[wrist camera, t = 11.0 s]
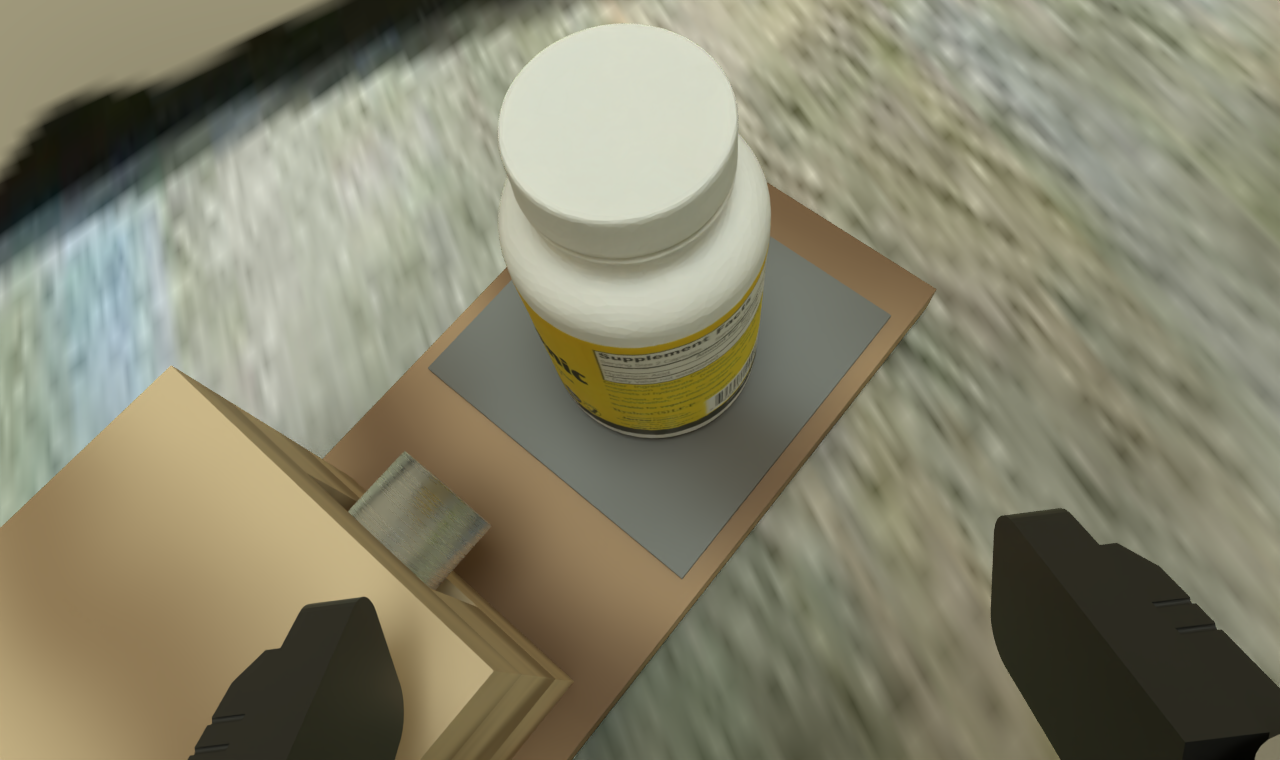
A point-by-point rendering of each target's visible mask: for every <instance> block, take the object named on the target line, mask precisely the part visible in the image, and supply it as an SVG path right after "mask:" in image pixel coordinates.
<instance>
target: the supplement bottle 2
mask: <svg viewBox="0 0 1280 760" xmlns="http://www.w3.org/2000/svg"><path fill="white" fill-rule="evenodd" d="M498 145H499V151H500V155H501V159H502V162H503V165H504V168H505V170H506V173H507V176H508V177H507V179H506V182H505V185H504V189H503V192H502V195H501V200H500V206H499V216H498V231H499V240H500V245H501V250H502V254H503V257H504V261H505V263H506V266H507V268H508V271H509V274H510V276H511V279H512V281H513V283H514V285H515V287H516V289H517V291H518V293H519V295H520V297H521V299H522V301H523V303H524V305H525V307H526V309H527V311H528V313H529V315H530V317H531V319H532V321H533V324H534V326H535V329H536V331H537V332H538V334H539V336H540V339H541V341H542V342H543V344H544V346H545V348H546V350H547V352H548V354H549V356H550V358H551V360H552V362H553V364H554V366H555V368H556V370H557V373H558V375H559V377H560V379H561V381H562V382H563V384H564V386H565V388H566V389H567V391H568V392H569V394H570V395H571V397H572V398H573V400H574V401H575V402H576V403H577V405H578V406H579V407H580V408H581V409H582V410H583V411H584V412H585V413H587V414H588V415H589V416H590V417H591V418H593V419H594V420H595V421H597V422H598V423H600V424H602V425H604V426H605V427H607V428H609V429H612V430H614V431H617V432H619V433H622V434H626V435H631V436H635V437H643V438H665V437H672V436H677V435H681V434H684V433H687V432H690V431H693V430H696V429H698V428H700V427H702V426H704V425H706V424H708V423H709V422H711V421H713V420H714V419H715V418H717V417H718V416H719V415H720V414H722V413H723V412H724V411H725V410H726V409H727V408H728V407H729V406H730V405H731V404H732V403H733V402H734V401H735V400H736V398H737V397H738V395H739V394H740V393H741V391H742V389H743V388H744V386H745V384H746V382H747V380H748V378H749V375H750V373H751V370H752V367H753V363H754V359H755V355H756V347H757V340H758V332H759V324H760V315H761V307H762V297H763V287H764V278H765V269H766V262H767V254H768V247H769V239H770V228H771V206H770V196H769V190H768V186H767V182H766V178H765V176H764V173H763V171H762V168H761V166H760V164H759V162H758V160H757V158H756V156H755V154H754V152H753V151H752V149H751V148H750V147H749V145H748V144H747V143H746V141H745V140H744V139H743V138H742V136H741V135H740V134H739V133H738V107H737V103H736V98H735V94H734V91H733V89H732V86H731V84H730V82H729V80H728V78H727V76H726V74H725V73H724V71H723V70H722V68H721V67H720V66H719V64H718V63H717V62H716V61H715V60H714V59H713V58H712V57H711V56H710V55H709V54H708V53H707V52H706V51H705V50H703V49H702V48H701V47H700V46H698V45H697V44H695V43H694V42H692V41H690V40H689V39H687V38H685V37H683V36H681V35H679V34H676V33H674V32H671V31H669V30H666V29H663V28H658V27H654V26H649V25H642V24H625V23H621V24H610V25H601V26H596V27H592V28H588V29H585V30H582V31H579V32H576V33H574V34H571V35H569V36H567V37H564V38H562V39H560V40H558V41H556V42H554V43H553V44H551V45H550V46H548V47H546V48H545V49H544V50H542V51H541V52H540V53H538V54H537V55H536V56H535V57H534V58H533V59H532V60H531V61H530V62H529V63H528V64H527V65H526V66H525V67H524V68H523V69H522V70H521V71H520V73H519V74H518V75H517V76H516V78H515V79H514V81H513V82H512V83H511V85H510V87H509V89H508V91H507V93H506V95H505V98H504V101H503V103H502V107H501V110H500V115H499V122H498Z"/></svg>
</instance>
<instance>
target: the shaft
mask: <svg viewBox="0 0 1280 760" xmlns="http://www.w3.org/2000/svg"><path fill="white" fill-rule="evenodd" d="M348 512H349V513H350V514H351V515H352V516H353V517H354V518H355V519H356V520H357V521H358V522H359V523H360V524H361V525H363V526H364V527H365V528H366V529H367V530H368V531H369V532H370V533H371V534H372V535H373V536H374V537H375V538H376V539H378V540H379V541H380V542H381V543H382V544H383V545H384V546H385V547H386V548H387V549H388V550H389V551H390V552H391V553H392V554H394V555H395V556H396V557H397V558H398V559H399V560H400V561H401V562H402V563H403V564H404V565H405V566H406V567H407V568H409V569H410V570H411V571H412V572H413V573H414V574H415V575H416V576H417V577H418V578H419V579H420V580H421V581H422V582H423V583H425V584H426V585H427V586H428V587H429V588H431V589H433V590H436V589H437V588H438V587H439V585H440V584H441V583H442V582H443V581H444V580H445V579H446V577H447V576H448V575H449V574H450V573H451V572H452V571H453V569H454V568H455V567H456V566H457V565H458V564H459V563H460V562H461V560H462V559H463V558H464V557H465V556H466V555H467V554H468V552H469V551H470V550H471V549H472V548H473V547H474V546H475V544H476V543H477V542H478V541H479V540H480V539H481V538H482V536H483V535H484V534H485V533H486V532H487V531H488V530H489V528H490V527H491V525H490V524H489V523H488V522H487V521H486V520H485V519H483V518H482V517H481V516H480V515H479V514H478V513H477V512H476V511H475V510H473V509H472V508H471V507H470V506H469V505H468V504H467V503H465V502H464V501H463V500H462V499H461V498H460V497H459V496H457V495H456V494H455V493H454V492H453V491H452V490H451V489H449V488H448V487H447V486H446V485H445V484H444V483H443V482H441V481H440V480H439V479H438V478H437V477H436V476H434V475H433V474H432V473H431V472H430V471H429V470H427V469H426V468H425V467H424V466H423V465H422V464H420V463H419V462H418V461H417V460H416V459H414V458H413V457H412V456H411V455H410V454H408V453H407V452H406V451H404V452H403V453H402V454H401V455H400V456H399V457H398V458H397V459H396V460H395V461H394V462H393V463H392V465H391V466H390V467H389V468H388V469H387V470H386V471H385V472H384V473H383V474H382V475H381V476H380V477H379V478H378V479H377V481H376V482H375V483H374V484H373V485H372V486H371V487H370V488H369V489H368V490H367V491H366V492H365V493H364V494H363V496H362V497H361V498H360V499H359V500H358V501H357V502H356V503H355V504H354V505H353V506H352V507H351V508H350V509H349V511H348Z"/></svg>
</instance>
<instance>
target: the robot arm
mask: <svg viewBox="0 0 1280 760" xmlns="http://www.w3.org/2000/svg"><path fill="white" fill-rule="evenodd" d="M991 624H992V630H993V635H994V639H995V643H996V646H997V649H998V652H999V655H1000V657H1001V659H1002V661H1003V663H1004V665H1005V667H1006V669H1007V670H1008V672H1009V674H1010V676H1011V677H1012V679H1013V681H1014V682H1015V684H1016V686H1017V687H1018V689H1019V691H1020V692H1021V694H1022V696H1023V697H1024V699H1025V701H1026V702H1027V704H1028V706H1029V707H1030V709H1031V711H1032V712H1033V714H1034V716H1035V717H1036V719H1037V721H1038V722H1039V724H1040V726H1041V727H1042V729H1043V731H1044V732H1045V734H1046V736H1047V737H1048V739H1049V741H1050V742H1051V744H1052V746H1053V747H1054V749H1055V751H1056V753H1057V754H1058V756H1059V758H1060V759H1061V760H1280V688H1279V687H1278V686H1277V685H1276V684H1275V683H1274V682H1273V681H1272V680H1271V679H1270V678H1269V677H1268V676H1267V675H1266V674H1265V673H1264V672H1263V671H1262V670H1261V669H1260V668H1259V667H1258V666H1257V665H1256V664H1255V663H1254V662H1253V661H1252V660H1251V659H1250V658H1249V657H1248V656H1247V655H1246V654H1245V653H1244V652H1243V651H1242V650H1241V649H1240V648H1239V647H1238V646H1237V645H1236V644H1235V643H1234V642H1233V641H1232V640H1231V639H1230V638H1229V637H1228V635H1227V634H1226V633H1225V632H1224V631H1223V630H1217V628H1216V626H1215V622H1214V621H1213V620H1212V619H1211V618H1210V617H1209V616H1208V615H1207V614H1206V613H1205V612H1204V611H1203V610H1202V609H1201V608H1200V607H1199V606H1198V605H1197V604H1192V603H1191V601H1190V597H1189V596H1188V595H1187V594H1186V593H1185V592H1184V591H1183V590H1182V589H1181V588H1180V587H1179V586H1178V585H1177V584H1176V583H1175V582H1174V581H1173V580H1172V579H1171V578H1170V577H1169V576H1168V575H1167V574H1166V573H1165V572H1164V571H1163V570H1162V569H1161V568H1160V567H1159V566H1158V565H1156V564H1154V563H1152V562H1150V561H1148V560H1147V559H1145V558H1143V557H1141V556H1139V555H1138V554H1136V553H1134V552H1132V551H1130V550H1129V549H1127V548H1125V547H1123V546H1121V545H1120V544H1118V543H1113V544H1105V545H1099V544H1098V543H1097V542H1096V541H1095V540H1094V539H1093V537H1092V536H1091V535H1090V534H1089V533H1088V532H1087V531H1086V530H1085V529H1084V528H1083V527H1082V525H1081V524H1080V523H1079V522H1078V521H1077V520H1076V519H1075V518H1074V517H1073V516H1072V515H1071V514H1070V513H1069V512H1068V511H1067V510H1065V509H1062V508H1059V509H1051V510H1043V511H1035V512H1028V513H1020V514H1012V515H1004V516H1000V517H999V518H998V519H997V521H996V524H995V529H994V546H993V570H992V594H991ZM403 723H404V702H403V694H402V689H401V685H400V682H399V679H398V676H397V673H396V670H395V667H394V664H393V661H392V658H391V655H390V652H389V649H388V646H387V643H386V640H385V637H384V634H383V630H382V627H381V624H380V621H379V618H378V615H377V612H376V610H375V607H374V605H373V603H372V602H371V601H370V599H368V598H367V597H358V598H350V599H342V600H335V601H327V602H319V603H312V604H307V605H305V606H304V607H303V608H302V609H301V611H300V612H299V614H298V616H297V618H296V619H295V621H294V623H293V625H292V627H291V629H290V631H289V633H288V635H287V636H286V638H285V640H284V642H283V644H282V646H281V648H278V649H270V650H265V651H264V652H263V653H262V654H261V655H260V656H259V657H258V658H257V659H256V660H255V661H254V662H253V663H252V664H251V665H249V666H248V667H247V668H246V669H245V670H244V671H243V672H242V673H241V674H240V675H239V676H238V677H237V678H236V679H235V680H234V681H233V682H232V683H231V685H230V687H229V688H228V690H227V692H226V694H225V695H224V697H223V699H222V701H221V702H220V704H219V706H218V708H217V709H216V711H215V713H214V714H213V716H212V724H211V725H207V727H206V728H205V730H204V732H203V734H202V735H201V737H200V739H199V741H198V742H197V744H196V746H195V747H194V748H195V753H194V755H190V756H189V758H188V760H395V757H396V754H397V750H398V747H399V744H400V740H401V736H402V731H403Z"/></svg>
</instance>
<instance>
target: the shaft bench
mask: <svg viewBox="0 0 1280 760" xmlns="http://www.w3.org/2000/svg"><path fill="white" fill-rule="evenodd" d="M767 186H768V190H769V196H770V206H771V228H770V239H769V247H768V254H767V262H766V269H765V278H764V287H763V297H762V307H761V315H760V324H759V332H758V340H757V347H756V355H755V359H754V363H753V367H752V370H751V373H750V375H749V378H748V380H747V382H746V384H745V386H744V388H743V389H742V391H741V393H740V394H739V395H738V397H737V398H736V400H735V401H734V402H733V403H732V404H731V405H730V406H729V407H728V408H727V409H726V410H725V411H724V412H723V413H722V414H720V415H719V416H718V417H717V418H715V419H714V420H713V421H711V422H709V423H708V424H706V425H704V426H702V427H700V428H698V429H696V430H693V431H690V432H687V433H684V434H681V435H677V436H672V437H665V438H643V437H635V436H631V435H626V434H622V433H619V432H617V431H614V430H612V429H609V428H607V427H605V426H604V425H602V424H600V423H598V422H597V421H595V420H594V419H593V418H591V417H590V416H589V415H588V414H587V413H585V412H584V411H583V410H582V409H581V408H580V407H579V406H578V405H577V403H576V402H575V401H574V400H573V398H572V397H571V395H570V394H569V392H568V391H567V389H566V388H565V386H564V384H563V382H562V381H561V379H560V377H559V375H558V373H557V370H556V368H555V366H554V364H553V362H552V360H551V358H550V356H549V354H548V352H547V350H546V348H545V346H544V344H543V342H542V341H541V339H540V336H539V334H538V332H537V331H536V329H535V326H534V324H533V321H532V319H531V317H530V315H529V313H528V311H527V309H526V307H525V305H524V303H523V301H522V299H521V297H520V295H519V293H518V291H517V289H516V287H515V285H514V283H513V281H512V279H511V276H510V274H509V271H508V268H506V269H505V270H504V271H503V272H502V273H501V274H500V275H499V276H498V277H497V278H496V279H495V280H494V281H493V282H492V283H491V284H490V285H489V286H488V287H487V288H486V289H485V290H484V291H483V293H482V294H481V295H480V296H479V297H478V298H477V299H476V300H475V301H474V302H473V303H472V304H471V305H470V306H469V307H468V308H467V309H466V310H465V311H464V312H463V313H462V314H461V315H460V316H459V317H458V319H457V320H456V321H455V322H454V323H453V324H452V325H451V326H450V327H449V328H448V329H447V330H446V331H445V332H444V333H443V334H442V335H441V336H440V337H439V338H438V339H437V340H436V341H435V342H434V344H433V345H432V346H431V347H430V348H429V349H428V350H427V351H426V352H425V353H424V354H423V355H422V356H421V357H420V358H419V359H418V360H417V361H416V362H415V363H414V364H413V365H412V366H411V367H410V368H409V370H408V371H407V372H406V373H405V374H404V375H403V376H402V377H401V378H400V379H399V380H398V381H397V382H396V383H395V384H394V385H393V386H392V387H391V388H390V389H389V390H388V391H387V392H386V393H385V395H384V396H383V397H382V398H381V399H380V400H379V401H378V402H377V403H376V404H375V405H374V406H373V407H372V408H371V409H370V410H369V411H368V412H367V413H366V414H365V415H364V416H363V417H362V418H361V419H360V421H359V422H358V423H357V424H356V425H355V426H354V427H353V428H352V429H351V430H350V431H349V432H348V433H347V434H346V435H345V436H344V437H343V438H342V439H341V440H340V441H339V442H338V443H337V444H336V445H335V447H334V448H333V449H332V450H331V451H330V452H329V453H328V454H327V455H326V456H325V457H324V458H323V459H321V458H320V457H318V456H316V455H315V454H313V453H312V452H310V451H308V450H307V449H305V448H304V447H302V446H300V445H299V444H297V443H295V442H294V441H292V440H291V439H289V438H287V437H286V436H284V435H283V434H281V433H279V432H278V431H276V430H274V429H273V428H271V427H270V426H268V425H266V424H265V423H263V422H262V421H260V420H258V419H257V418H255V417H254V416H252V415H250V414H249V413H247V412H245V411H244V410H242V409H241V408H239V407H237V406H236V405H234V404H233V403H231V402H229V401H228V400H226V399H225V398H223V397H221V396H220V395H218V394H216V393H215V392H213V391H212V390H210V389H208V388H207V387H205V386H204V385H202V384H200V383H199V382H197V381H196V380H194V379H192V378H191V377H189V376H187V375H186V374H184V373H183V372H181V371H179V370H178V369H176V368H175V367H173V366H170V367H169V368H168V369H167V370H166V371H165V372H164V373H163V374H162V375H161V376H159V377H158V378H157V379H156V380H155V381H154V382H153V383H152V384H151V385H150V386H149V387H148V388H147V389H146V390H145V391H144V392H143V393H142V394H141V395H140V396H138V397H137V398H136V399H135V400H134V401H133V402H132V403H131V404H130V405H129V406H128V407H127V408H126V409H125V410H124V411H123V412H122V413H121V414H120V415H118V416H117V417H116V418H115V419H114V420H113V421H112V422H111V423H110V424H109V425H108V426H107V427H106V428H105V429H104V430H103V431H102V432H101V433H100V434H98V435H97V436H96V437H95V438H94V439H93V440H92V441H91V442H90V443H89V444H88V445H87V446H86V447H85V448H84V449H83V450H82V451H81V452H80V453H79V454H77V455H76V456H75V457H74V458H73V459H72V460H71V461H70V462H69V463H68V464H67V465H66V466H65V467H64V468H63V469H62V470H61V471H60V472H59V473H57V474H56V475H55V476H54V477H53V478H52V479H51V480H50V481H49V482H48V483H47V484H46V485H45V486H44V487H43V488H42V489H41V490H40V491H39V492H38V493H36V494H35V495H34V496H33V497H32V498H31V499H30V500H29V501H28V502H27V503H26V504H25V505H24V506H23V507H22V508H21V509H20V510H19V511H18V512H16V513H15V514H14V515H13V516H12V517H11V518H10V519H9V520H8V521H7V522H6V523H5V524H4V525H3V526H2V527H1V528H0V760H188V758H189V756H190V755H194V753H195V748H194V747H195V746H196V744H197V742H198V741H199V739H200V737H201V735H202V734H203V732H204V730H205V728H206V727H207V725H211V724H212V716H213V714H214V713H215V711H216V709H217V708H218V706H219V704H220V702H221V701H222V699H223V697H224V695H225V694H226V692H227V690H228V688H229V687H230V685H231V683H232V682H233V681H234V680H235V679H236V678H237V677H238V676H239V675H240V674H241V673H242V672H243V671H244V670H245V669H246V668H247V667H248V666H249V665H251V664H252V663H253V662H254V661H255V660H256V659H257V658H258V657H259V656H260V655H261V654H262V653H263V652H264V651H265V650H270V649H278V648H281V646H282V644H283V642H284V640H285V638H286V636H287V635H288V633H289V631H290V629H291V627H292V625H293V623H294V621H295V619H296V618H297V616H298V614H299V612H300V611H301V609H302V608H303V607H304V606H305V605H307V604H312V603H319V602H327V601H335V600H342V599H350V598H358V597H367V598H368V599H370V601H371V602H372V603H373V605H374V607H375V610H376V612H377V615H378V618H379V621H380V624H381V627H382V630H383V634H384V637H385V640H386V643H387V646H388V649H389V652H390V655H391V658H392V661H393V664H394V667H395V670H396V673H397V676H398V679H399V682H400V685H401V689H402V694H403V702H404V723H403V731H402V736H401V740H400V744H399V747H398V750H397V754H396V757H395V760H572V759H573V758H574V756H575V755H576V754H577V752H578V751H579V750H580V749H581V747H582V746H583V745H584V744H585V742H586V741H587V740H588V738H589V737H590V736H591V735H592V733H593V732H594V731H595V729H596V728H597V727H598V726H599V724H600V723H601V722H602V721H603V719H604V718H605V717H606V715H607V714H608V713H609V712H610V710H611V709H612V708H613V707H614V705H615V704H616V703H617V701H618V700H619V699H620V698H621V696H622V695H623V694H624V693H625V691H626V690H627V689H628V687H629V686H630V685H631V684H632V682H633V681H634V680H635V679H636V677H637V676H638V675H639V673H640V672H641V671H642V670H643V668H644V667H645V666H646V664H647V663H648V662H649V661H650V659H651V658H652V657H653V656H654V654H655V653H656V652H657V650H658V649H659V648H660V647H661V645H662V644H663V643H664V642H665V640H666V639H667V638H668V636H669V635H670V634H671V633H672V631H673V630H674V629H675V628H676V626H677V625H678V624H679V622H680V621H681V620H682V619H683V617H684V616H685V615H686V614H687V612H688V611H689V610H690V608H691V607H692V606H693V605H694V603H695V602H696V601H697V600H698V598H699V597H700V596H701V594H702V593H703V592H704V591H705V589H706V588H707V587H708V585H709V584H710V583H711V582H712V580H713V579H714V578H715V577H716V575H717V574H718V573H719V571H720V570H721V569H722V568H723V566H724V565H725V564H726V563H727V561H728V560H729V559H730V557H731V556H732V555H733V554H734V552H735V551H736V550H737V549H738V547H739V546H740V545H741V543H742V542H743V541H744V540H745V538H746V537H747V536H748V535H749V533H750V532H751V531H752V529H753V528H754V527H755V526H756V524H757V523H758V522H759V520H760V519H761V518H762V517H763V515H764V514H765V513H766V512H767V510H768V509H769V508H770V506H771V505H772V504H773V503H774V501H775V500H776V499H777V498H778V496H779V495H780V494H781V492H782V491H783V490H784V489H785V487H786V486H787V485H788V484H789V482H790V481H791V480H792V478H793V477H794V476H795V475H796V473H797V472H798V471H799V470H800V468H801V467H802V466H803V464H804V463H805V462H806V461H807V459H808V458H809V457H810V455H811V454H812V453H813V452H814V450H815V449H816V448H817V447H818V445H819V444H820V443H821V441H822V440H823V439H824V438H825V436H826V435H827V434H828V433H829V431H830V430H831V429H832V427H833V426H834V425H835V424H836V422H837V421H838V420H839V419H840V417H841V416H842V415H843V413H844V412H845V411H846V410H847V408H848V407H849V406H850V405H851V403H852V402H853V401H854V399H855V398H856V397H857V396H858V394H859V393H860V392H861V391H862V389H863V388H864V387H865V385H866V384H867V383H868V382H869V380H870V379H871V378H872V376H873V375H874V374H875V373H876V371H877V370H878V369H879V368H880V366H881V365H882V364H883V362H884V361H885V360H886V359H887V357H888V356H889V355H890V354H891V352H892V351H893V350H894V348H895V347H896V346H897V345H898V343H899V342H900V341H901V340H902V338H903V337H904V336H905V334H906V333H907V332H908V331H909V329H910V328H911V327H912V326H913V324H914V323H915V322H916V320H917V319H918V318H919V317H920V315H921V314H922V313H923V311H924V310H925V309H926V307H927V306H928V304H929V302H930V300H931V298H932V297H933V295H934V293H935V291H936V289H935V288H934V287H932V286H930V285H929V284H927V283H926V282H924V281H922V280H921V279H919V278H918V277H916V276H915V275H913V274H911V273H910V272H908V271H907V270H905V269H903V268H902V267H900V266H899V265H897V264H896V263H894V262H892V261H891V260H889V259H888V258H886V257H884V256H883V255H881V254H880V253H878V252H876V251H875V250H873V249H872V248H870V247H869V246H867V245H865V244H864V243H862V242H861V241H859V240H857V239H856V238H854V237H853V236H851V235H850V234H848V233H846V232H845V231H843V230H842V229H840V228H838V227H837V226H835V225H834V224H832V223H831V222H829V221H827V220H826V219H824V218H823V217H821V216H819V215H818V214H816V213H815V212H813V211H812V210H810V209H808V208H807V207H805V206H804V205H802V204H800V203H799V202H797V201H796V200H794V199H793V198H791V197H789V196H788V195H786V194H785V193H783V192H781V191H780V190H778V189H777V188H775V187H773V186H772V185H770V184H769V183H767ZM404 451H406V452H407V453H408V454H410V455H411V456H412V457H413V458H414V459H416V460H417V461H418V462H419V463H420V464H422V465H423V466H424V467H425V468H426V469H427V470H429V471H430V472H431V473H432V474H433V475H434V476H436V477H437V478H438V479H439V480H440V481H441V482H443V483H444V484H445V485H446V486H447V487H448V488H449V489H451V490H452V491H453V492H454V493H455V494H456V495H457V496H459V497H460V498H461V499H462V500H463V501H464V502H465V503H467V504H468V505H469V506H470V507H471V508H472V509H473V510H475V511H476V512H477V513H478V514H479V515H480V516H481V517H482V518H483V519H485V520H486V521H487V522H488V523H489V524H490V525H491V527H490V528H489V530H488V531H487V532H486V533H485V534H484V535H483V536H482V538H481V539H480V540H479V541H478V542H477V543H476V544H475V546H474V547H473V548H472V549H471V550H470V551H469V552H468V554H467V555H466V556H465V557H464V558H463V559H462V560H461V562H460V563H459V564H458V565H457V566H456V567H455V568H454V569H453V571H452V572H451V573H450V574H449V575H448V576H447V577H446V579H445V580H444V581H443V582H442V583H441V584H440V585H439V587H438V588H437V589H436V590H433V589H431V588H429V587H428V586H427V585H426V584H425V583H423V582H422V581H421V580H420V579H419V578H418V577H417V576H416V575H415V574H414V573H413V572H412V571H411V570H410V569H409V568H407V567H406V566H405V565H404V564H403V563H402V562H401V561H400V560H399V559H398V558H397V557H396V556H395V555H394V554H392V553H391V552H390V551H389V550H388V549H387V548H386V547H385V546H384V545H383V544H382V543H381V542H380V541H379V540H378V539H376V538H375V537H374V536H373V535H372V534H371V533H370V532H369V531H368V530H367V529H366V528H365V527H364V526H363V525H361V524H360V523H359V522H358V521H357V520H356V519H355V518H354V517H353V516H352V515H351V514H350V513H349V512H348V511H349V509H350V508H351V507H352V506H353V505H354V504H355V503H356V502H357V501H358V500H359V499H360V498H361V497H362V496H363V494H364V493H365V492H366V491H367V490H368V489H369V488H370V487H371V486H372V485H373V484H374V483H375V482H376V481H377V479H378V478H379V477H380V476H381V475H382V474H383V473H384V472H385V471H386V470H387V469H388V468H389V467H390V466H391V465H392V463H393V462H394V461H395V460H396V459H397V458H398V457H399V456H400V455H401V454H402V453H403V452H404Z"/></svg>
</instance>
